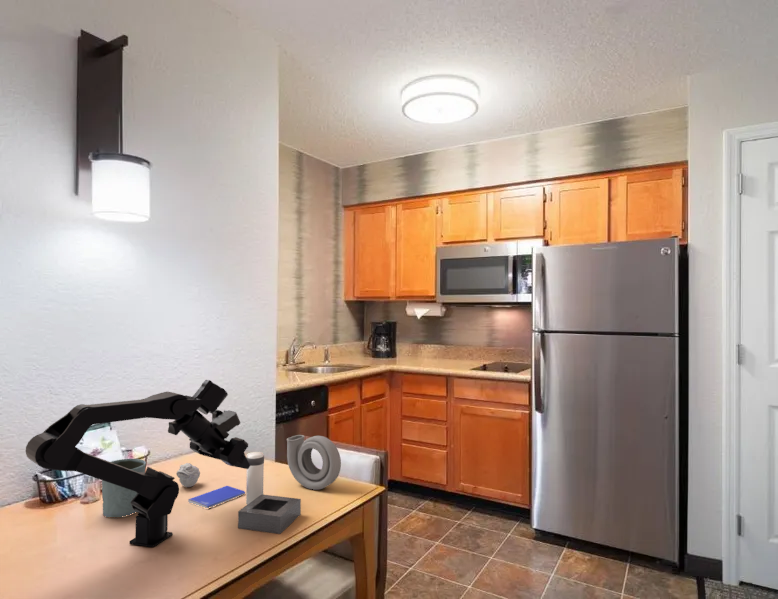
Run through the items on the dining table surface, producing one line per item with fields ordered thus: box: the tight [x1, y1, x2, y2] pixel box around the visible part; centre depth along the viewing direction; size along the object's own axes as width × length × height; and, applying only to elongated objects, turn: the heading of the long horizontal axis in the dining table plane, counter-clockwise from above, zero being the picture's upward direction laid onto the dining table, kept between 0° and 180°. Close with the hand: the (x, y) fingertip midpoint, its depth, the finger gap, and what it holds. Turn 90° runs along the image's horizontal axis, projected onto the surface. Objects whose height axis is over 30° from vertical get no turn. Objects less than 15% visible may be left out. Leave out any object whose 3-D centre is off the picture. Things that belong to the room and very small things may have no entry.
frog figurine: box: [176, 462, 201, 488], centre depth 144 cm, size 6×7×7 cm
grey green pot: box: [101, 458, 147, 518], centre depth 127 cm, size 10×10×12 cm
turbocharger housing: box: [286, 434, 342, 491], centre depth 145 cm, size 17×6×15 cm, turn 62°
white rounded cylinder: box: [245, 451, 265, 505], centre depth 133 cm, size 5×5×13 cm
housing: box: [237, 493, 302, 535], centre depth 122 cm, size 11×11×4 cm
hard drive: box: [187, 485, 246, 508], centre depth 136 cm, size 2×8×12 cm
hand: (238, 463), depth 129 cm, fingers open, 9 cm apart
